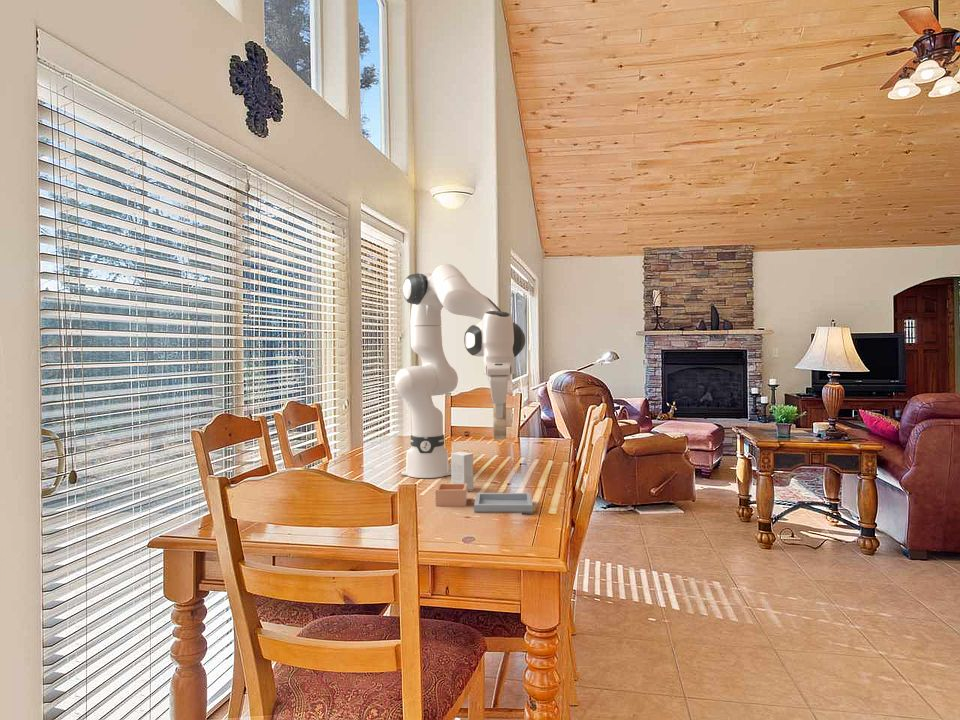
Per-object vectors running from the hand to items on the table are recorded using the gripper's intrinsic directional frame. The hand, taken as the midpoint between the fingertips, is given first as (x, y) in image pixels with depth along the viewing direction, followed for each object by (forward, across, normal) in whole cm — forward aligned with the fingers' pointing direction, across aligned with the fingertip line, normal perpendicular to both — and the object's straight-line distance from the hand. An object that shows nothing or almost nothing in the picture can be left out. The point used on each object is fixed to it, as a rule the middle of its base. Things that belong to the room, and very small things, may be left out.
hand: (499, 417), depth 178 cm
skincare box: (+26, -20, -12) cm, 35 cm away
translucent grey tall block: (+6, 0, 0) cm, 6 cm away
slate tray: (+26, 0, +1) cm, 26 cm away
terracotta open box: (+26, -4, -14) cm, 30 cm away
